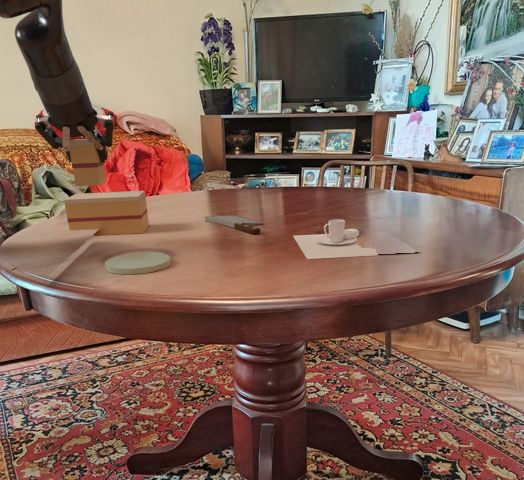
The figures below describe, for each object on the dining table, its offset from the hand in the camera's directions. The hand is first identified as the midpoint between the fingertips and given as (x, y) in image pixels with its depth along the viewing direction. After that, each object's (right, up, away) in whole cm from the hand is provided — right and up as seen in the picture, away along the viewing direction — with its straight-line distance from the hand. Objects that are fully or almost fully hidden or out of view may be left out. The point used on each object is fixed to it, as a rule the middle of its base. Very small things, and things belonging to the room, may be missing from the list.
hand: (89, 159), depth 98 cm
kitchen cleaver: (+28, -8, +20) cm, 36 cm away
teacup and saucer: (+50, -17, -1) cm, 53 cm away
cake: (-2, -9, +20) cm, 22 cm away
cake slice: (0, -5, 0) cm, 5 cm away
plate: (+12, -22, -11) cm, 28 cm away
